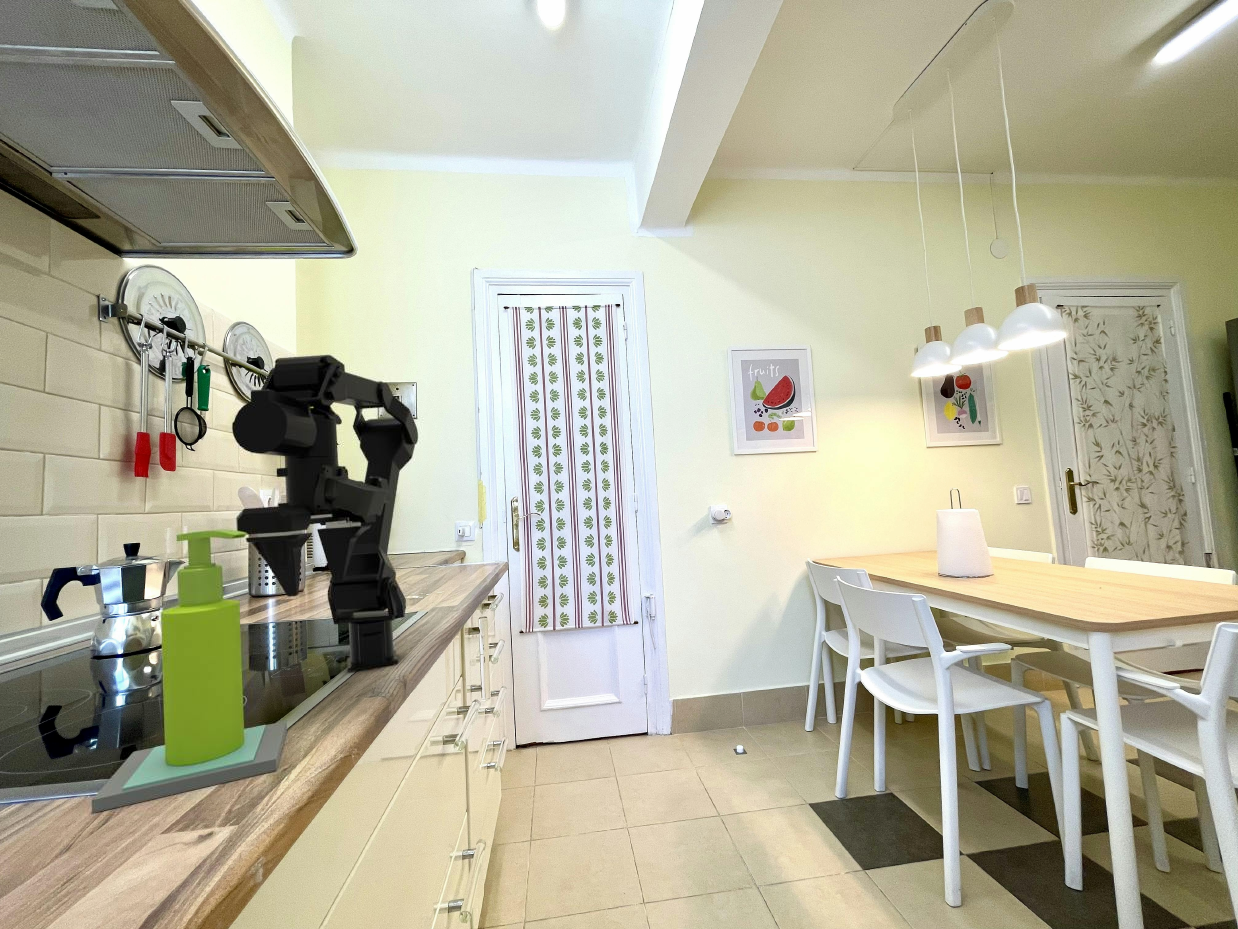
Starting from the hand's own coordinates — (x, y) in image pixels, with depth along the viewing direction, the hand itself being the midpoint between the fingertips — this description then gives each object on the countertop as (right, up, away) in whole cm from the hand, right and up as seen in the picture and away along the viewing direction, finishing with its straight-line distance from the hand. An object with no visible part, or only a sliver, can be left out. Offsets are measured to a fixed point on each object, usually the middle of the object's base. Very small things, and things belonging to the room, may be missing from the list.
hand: (317, 588), depth 70 cm
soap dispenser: (-1, -11, -17) cm, 20 cm away
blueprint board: (-2, -12, -17) cm, 21 cm away
